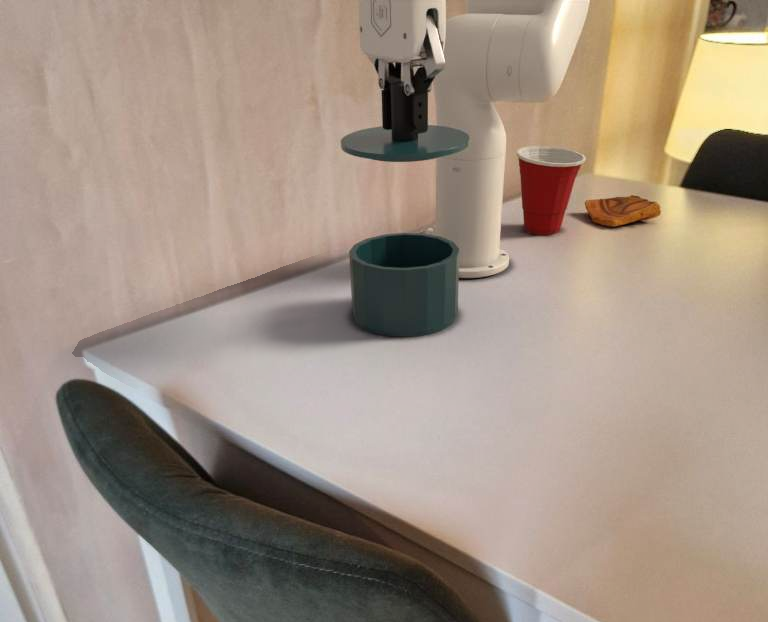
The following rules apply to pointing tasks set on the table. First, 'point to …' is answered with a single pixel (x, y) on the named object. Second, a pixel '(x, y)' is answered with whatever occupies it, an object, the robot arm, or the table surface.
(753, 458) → the table surface
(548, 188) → the plastic cup
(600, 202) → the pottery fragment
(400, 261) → the pot
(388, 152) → the lid
